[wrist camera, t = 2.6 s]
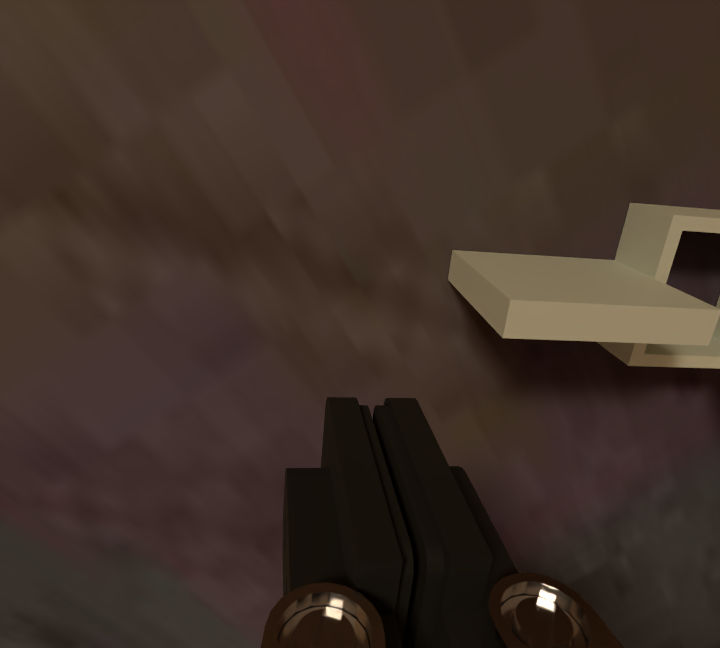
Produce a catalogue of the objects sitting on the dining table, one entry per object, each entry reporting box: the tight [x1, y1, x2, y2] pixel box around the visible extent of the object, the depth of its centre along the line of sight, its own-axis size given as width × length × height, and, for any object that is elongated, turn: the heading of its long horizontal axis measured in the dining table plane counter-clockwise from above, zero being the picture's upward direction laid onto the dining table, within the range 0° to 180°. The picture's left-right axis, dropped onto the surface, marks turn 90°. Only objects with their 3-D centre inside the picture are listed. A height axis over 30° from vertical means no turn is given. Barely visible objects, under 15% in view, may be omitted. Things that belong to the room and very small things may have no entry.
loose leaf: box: [448, 203, 720, 369], centre depth 22 cm, size 15×7×7 cm, turn 85°
